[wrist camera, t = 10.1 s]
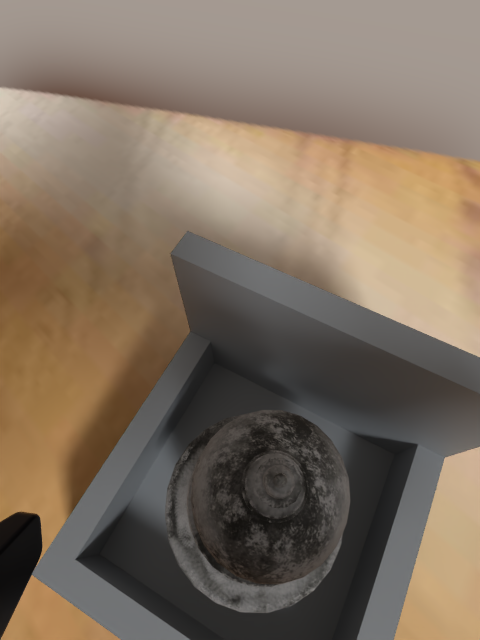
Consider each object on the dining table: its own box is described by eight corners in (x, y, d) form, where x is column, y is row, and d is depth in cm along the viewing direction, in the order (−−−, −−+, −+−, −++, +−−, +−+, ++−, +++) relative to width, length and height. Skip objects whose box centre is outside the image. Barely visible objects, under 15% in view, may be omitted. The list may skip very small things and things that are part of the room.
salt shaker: (148, 518, 16) (-37, 515, 5) (240, 405, 18) (246, 236, 7) (264, 633, 14) (352, 988, 3) (351, 494, 16) (573, 447, 6)
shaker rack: (322, 739, 14) (442, 1053, 6) (72, 563, 16) (-98, 607, 8) (415, 448, 18) (555, 390, 10) (208, 344, 20) (187, 231, 12)
